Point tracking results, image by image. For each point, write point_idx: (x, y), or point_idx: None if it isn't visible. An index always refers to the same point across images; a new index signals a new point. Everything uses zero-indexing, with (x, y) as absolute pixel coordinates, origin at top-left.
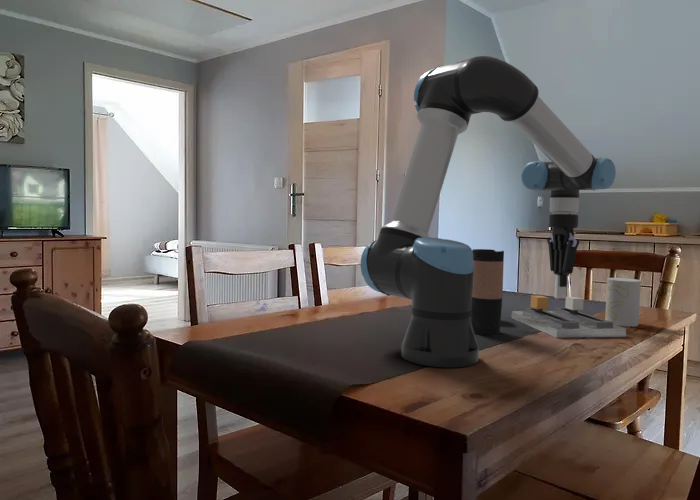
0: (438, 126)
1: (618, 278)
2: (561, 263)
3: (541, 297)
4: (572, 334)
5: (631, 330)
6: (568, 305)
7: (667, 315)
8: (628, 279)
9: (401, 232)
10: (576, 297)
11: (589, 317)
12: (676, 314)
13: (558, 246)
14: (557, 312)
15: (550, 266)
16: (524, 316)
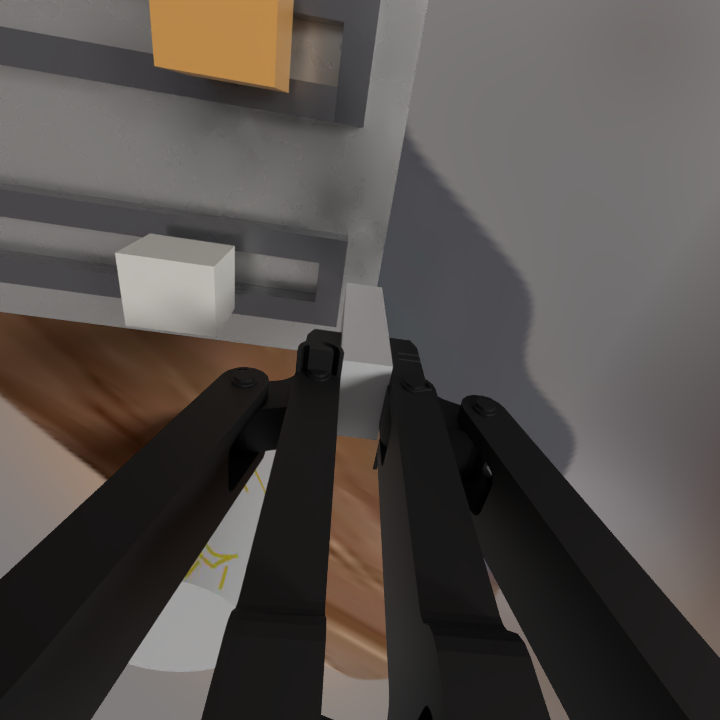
0: None
1: (217, 634)
2: (280, 443)
3: None
4: None
5: (95, 397)
6: (192, 246)
7: (343, 631)
8: (172, 647)
9: None
10: (178, 316)
11: (84, 267)
12: (352, 653)
13: (300, 700)
14: (299, 229)
15: (516, 427)
16: None
